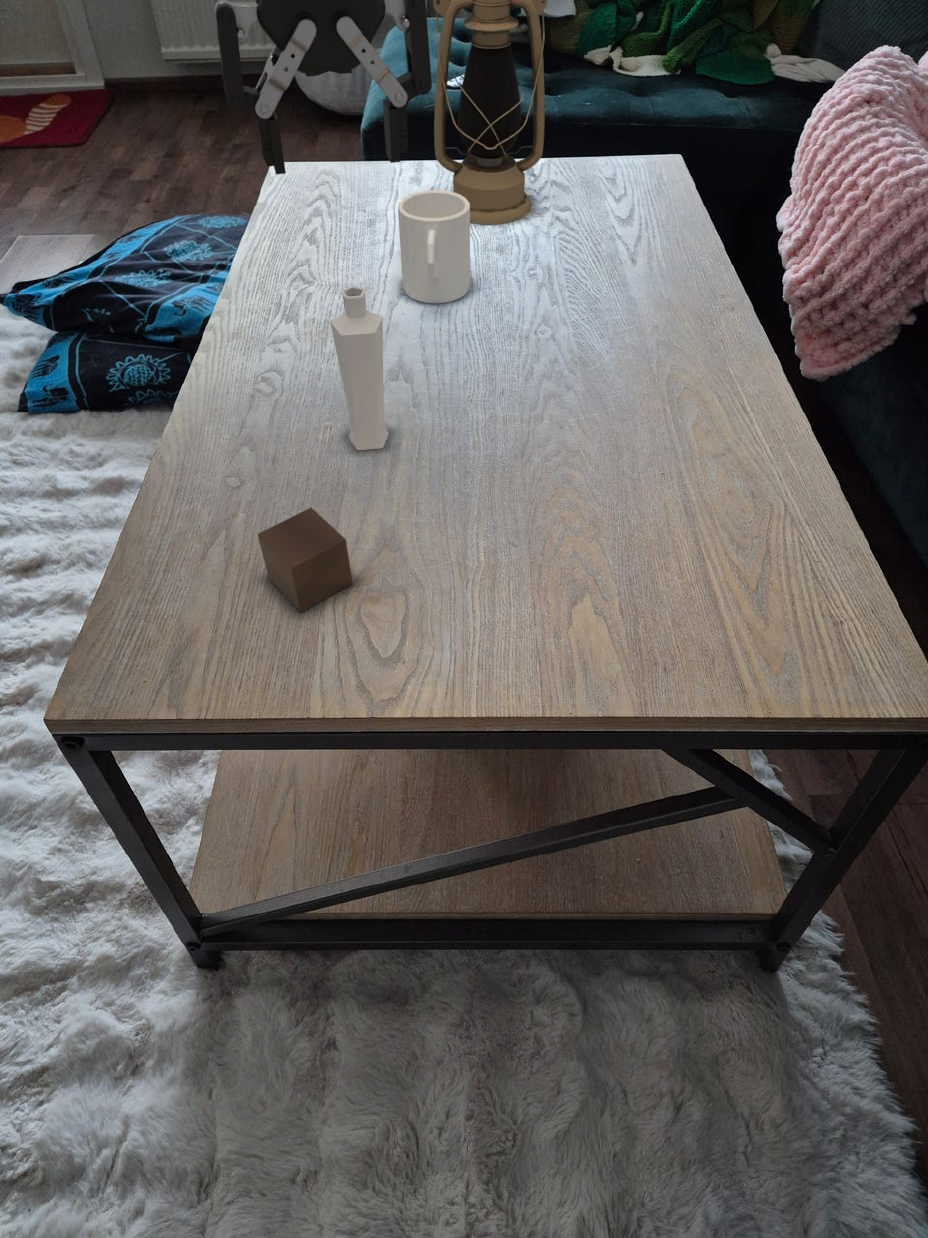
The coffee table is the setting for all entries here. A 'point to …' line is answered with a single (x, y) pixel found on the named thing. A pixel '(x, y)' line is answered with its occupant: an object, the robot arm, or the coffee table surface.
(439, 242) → the mug
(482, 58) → the lantern
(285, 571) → the walnut block
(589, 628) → the coffee table surface
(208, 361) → the coffee table surface
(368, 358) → the perfume bottle
